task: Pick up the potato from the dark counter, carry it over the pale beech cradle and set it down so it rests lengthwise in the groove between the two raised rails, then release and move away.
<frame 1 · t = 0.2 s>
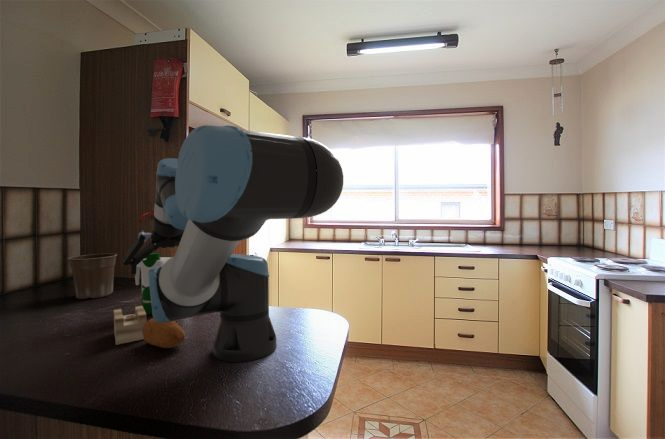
hand: (164, 278, 95), 14 cm above the countertop, tool tilted 30°, fingers open, 13 cm apart
milk carton: (158, 311, 112), on the countertop
cradle: (130, 335, 91), on the countertop
potato: (164, 346, 84), on the countertop
plant pot: (94, 296, 134), on the countertop
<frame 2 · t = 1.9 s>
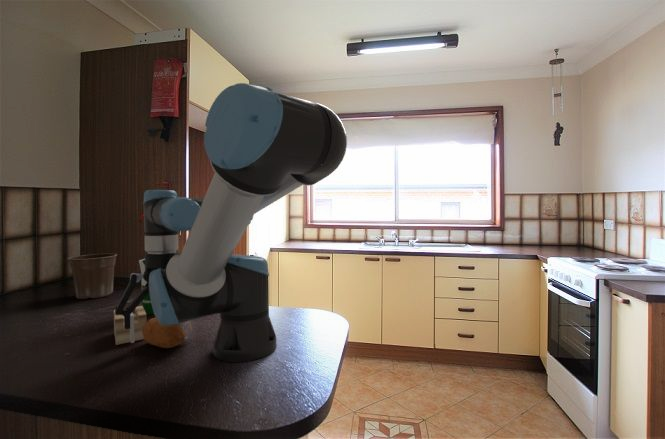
hand: (163, 334, 84), 3 cm above the countertop, tool pointing down, fingers open, 13 cm apart
nothing on the countertop moved.
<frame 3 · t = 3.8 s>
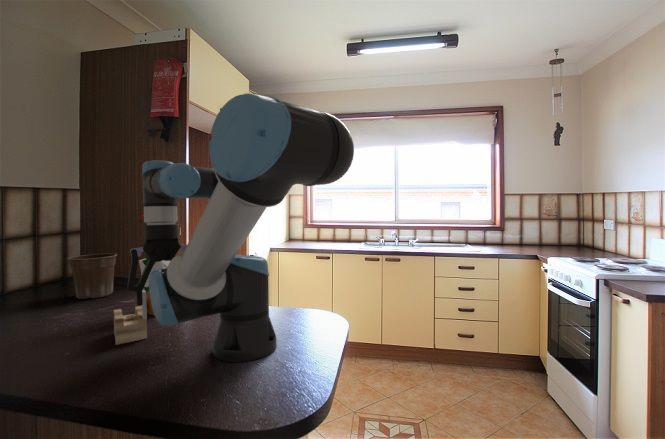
hand: (164, 314, 83), 8 cm above the countertop, tool pointing down, fingers closed on potato, 8 cm apart
potato: (164, 316, 83), point 8 cm above the countertop, touching gripper
everything else where it was.
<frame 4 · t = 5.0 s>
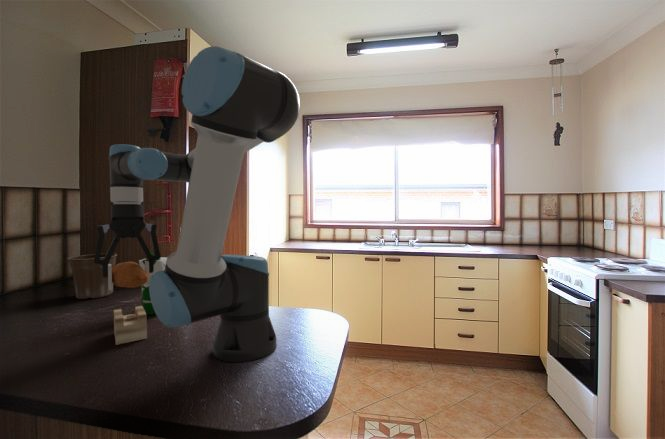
hand: (129, 286, 90), 13 cm above the countertop, tool pointing down, fingers closed on potato, 8 cm apart
potato: (129, 288, 90), point 13 cm above the countertop, touching gripper
everything else where it was.
when the fingers open (8 cm above the countertop, at t = 6.3 s): potato drops 1 cm, resting on cradle.
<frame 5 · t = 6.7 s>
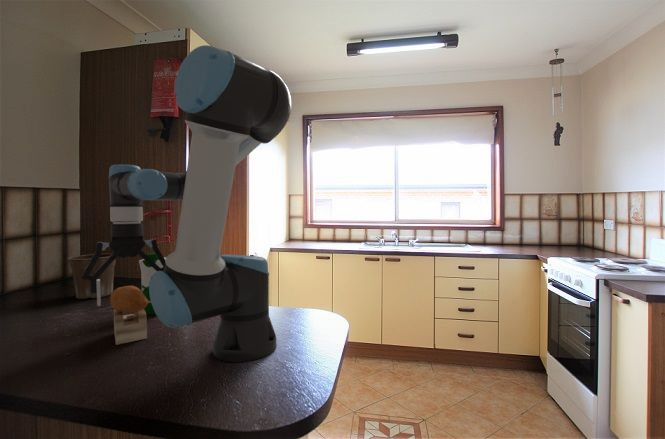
hand: (129, 300, 90), 10 cm above the countertop, tool pointing down, fingers open, 13 cm apart
potato: (129, 312, 90), point 6 cm above the countertop, touching cradle
everything else where it was.
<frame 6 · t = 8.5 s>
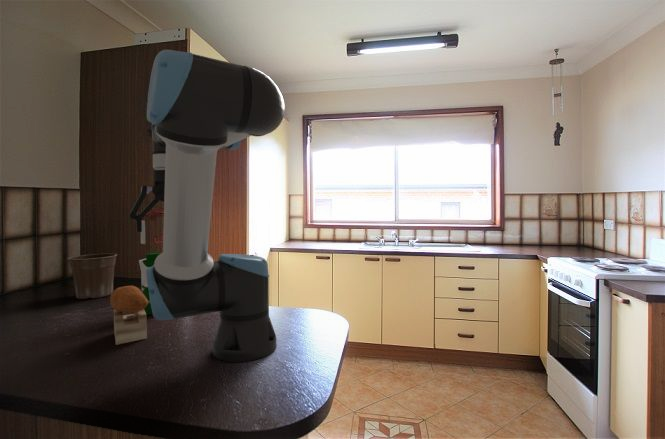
hand: (169, 242, 98), 25 cm above the countertop, tool pointing down, fingers open, 13 cm apart
nothing on the countertop moved.
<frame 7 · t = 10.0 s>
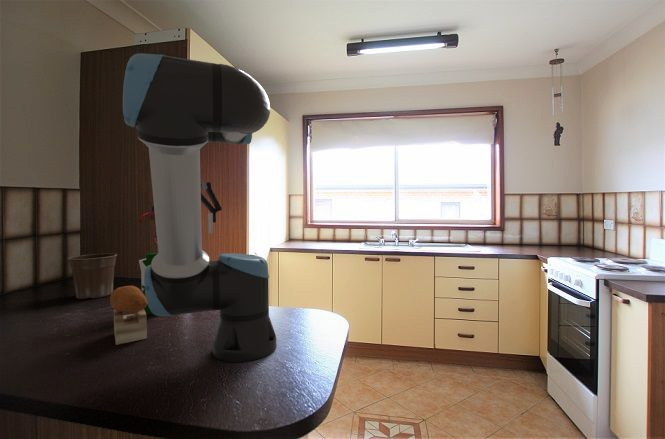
hand: (188, 234, 103), 27 cm above the countertop, tool pointing down, fingers open, 13 cm apart
nothing on the countertop moved.
at the end: potato inside the target area on the cradle (0.1 cm from its centre), point 6.3 cm above the cradle's base; potato touching cradle; the gripper is holding nothing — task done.
